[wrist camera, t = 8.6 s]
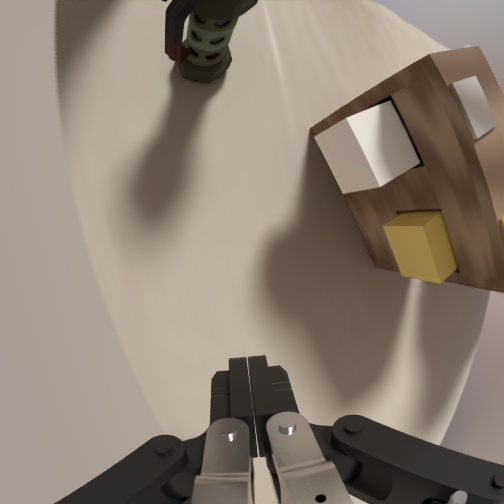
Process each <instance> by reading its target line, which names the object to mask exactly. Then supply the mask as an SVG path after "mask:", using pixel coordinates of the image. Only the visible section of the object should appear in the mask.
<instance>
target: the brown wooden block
mask: <svg viewBox="0 0 504 504" xmlns="http://www.w3.org/2000/svg"><path fill="white" fill-rule="evenodd" d="M388 101H391V103H392V105H393V107H394V109H395V111H396V113H397V114H401V115H402V117H403V119H404V122H405V124H406V126H407V128H408V130H409V132H410V134H411V136H412V138H413V140H414V143H415V146H413V148H414V150H415V152H416V155H417V157H418V159H419V162H420V163H419V164H417V165H416V166H414V167H412V168H411V169H409V170H407V171H406V172H404V173H402V174H401V175H399V176H398V177H396V178H394V179H393V180H391V181H389V182H388V183H386V184H384V185H383V186H381V187H378V188H372V189H367V190H361V191H356V192H350V193H345V194H344V196H345V198H346V200H347V202H348V205H349V207H350V209H351V211H352V213H353V215H354V218H355V220H356V222H357V224H358V227H359V229H360V231H361V233H362V236H363V238H364V240H365V243H366V245H367V247H368V250H369V252H370V255H371V257H372V260H373V262H374V264H375V267H376V268H380V269H385V270H390V271H395V272H400V270H399V267H398V265H397V262H396V259H395V256H394V254H393V251H392V249H391V246H390V243H389V241H388V238H387V236H386V233H385V231H384V228H383V225H385V224H386V223H388V222H389V221H391V220H392V219H394V218H395V217H396V216H398V215H399V214H401V213H402V212H404V211H407V210H426V209H441V211H442V214H443V217H444V220H445V223H446V226H447V229H448V232H449V236H450V239H451V242H452V246H453V249H454V253H455V256H456V260H457V264H458V268H457V269H456V270H455V271H454V272H453V273H452V274H451V275H450V276H449V277H448V278H446V279H445V280H444V281H446V282H451V283H456V284H461V285H466V286H471V287H476V288H481V289H486V290H491V291H496V292H501V293H504V96H503V94H502V91H501V89H500V87H499V85H498V82H497V81H496V78H495V76H494V74H493V72H492V70H491V68H490V66H489V64H488V62H487V60H486V58H485V57H484V55H483V53H482V51H481V50H480V48H479V46H476V47H469V48H462V49H455V50H449V51H443V52H437V53H432V54H428V55H427V56H425V57H423V58H421V59H420V60H418V61H416V62H414V63H413V64H411V65H409V66H408V67H406V68H404V69H403V70H401V71H399V72H397V73H396V74H394V75H392V76H391V77H389V78H387V79H386V80H384V81H383V82H381V83H379V84H378V85H376V86H374V87H373V88H371V89H370V90H368V91H366V92H365V93H363V94H362V95H360V96H358V97H357V98H355V99H354V100H352V101H351V102H349V103H348V104H346V105H344V106H343V107H341V108H340V109H338V110H337V111H335V112H334V113H332V114H331V115H329V116H328V117H326V118H325V119H323V120H322V121H320V122H319V123H317V124H316V125H314V126H313V127H311V128H310V129H311V131H312V133H313V135H314V137H315V136H316V135H318V134H320V133H321V132H323V131H325V130H326V129H328V128H330V127H332V126H333V125H335V124H337V123H338V122H340V121H342V120H343V119H345V118H347V117H350V116H352V115H355V114H357V113H359V112H362V111H364V110H367V109H370V108H372V107H375V106H377V105H380V104H382V103H385V102H388Z"/></svg>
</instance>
